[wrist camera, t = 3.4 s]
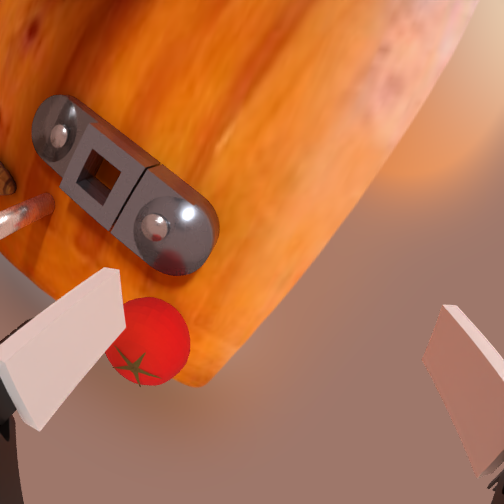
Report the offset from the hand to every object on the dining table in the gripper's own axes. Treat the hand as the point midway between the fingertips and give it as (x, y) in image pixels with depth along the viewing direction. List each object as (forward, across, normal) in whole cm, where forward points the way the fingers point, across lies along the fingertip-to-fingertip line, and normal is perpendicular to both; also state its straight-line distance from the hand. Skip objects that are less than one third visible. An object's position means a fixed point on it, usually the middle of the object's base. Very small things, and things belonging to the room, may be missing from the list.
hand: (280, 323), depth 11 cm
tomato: (+25, -16, -17) cm, 34 cm away
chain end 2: (+23, -16, 0) cm, 28 cm away
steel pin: (+23, -34, -1) cm, 41 cm away
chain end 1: (+22, -25, +7) cm, 34 cm away
